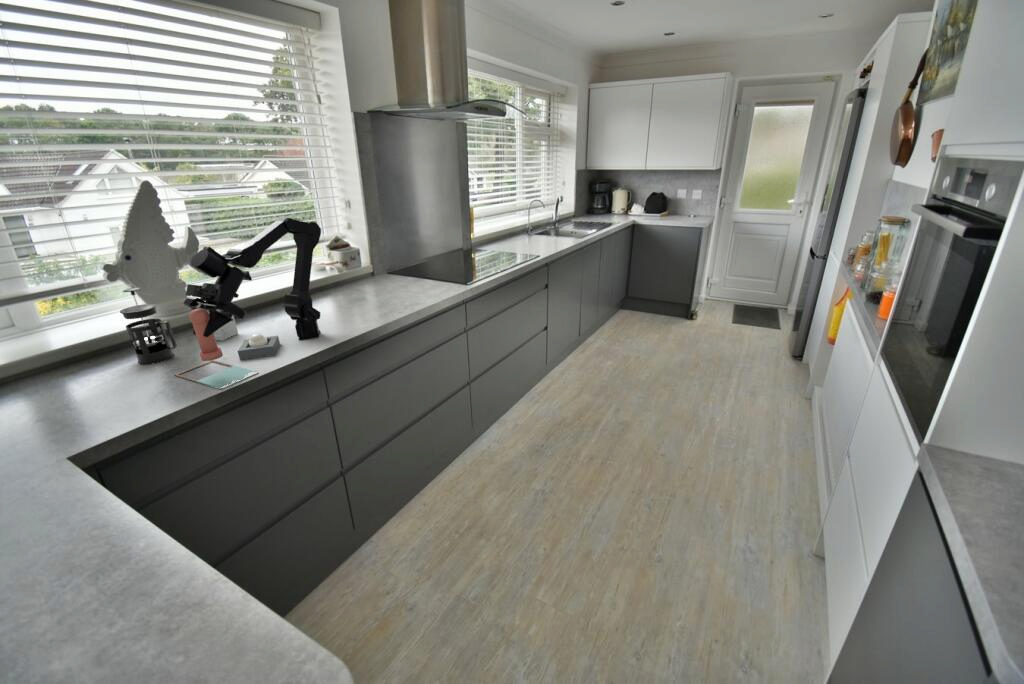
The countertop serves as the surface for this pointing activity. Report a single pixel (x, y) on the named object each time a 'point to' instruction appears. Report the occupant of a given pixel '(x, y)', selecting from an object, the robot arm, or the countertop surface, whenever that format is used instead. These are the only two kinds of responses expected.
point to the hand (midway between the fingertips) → (200, 335)
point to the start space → (199, 366)
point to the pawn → (206, 343)
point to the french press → (147, 352)
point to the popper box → (259, 348)
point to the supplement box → (226, 331)
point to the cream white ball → (258, 340)
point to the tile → (225, 376)
